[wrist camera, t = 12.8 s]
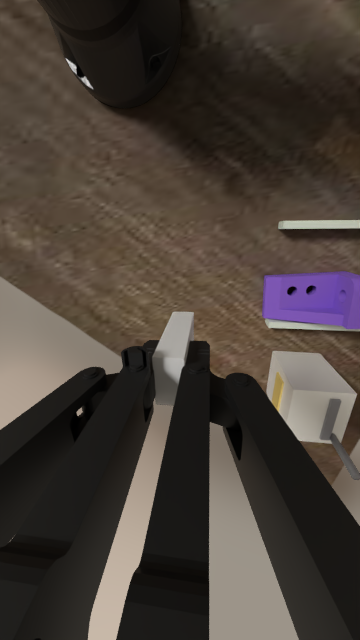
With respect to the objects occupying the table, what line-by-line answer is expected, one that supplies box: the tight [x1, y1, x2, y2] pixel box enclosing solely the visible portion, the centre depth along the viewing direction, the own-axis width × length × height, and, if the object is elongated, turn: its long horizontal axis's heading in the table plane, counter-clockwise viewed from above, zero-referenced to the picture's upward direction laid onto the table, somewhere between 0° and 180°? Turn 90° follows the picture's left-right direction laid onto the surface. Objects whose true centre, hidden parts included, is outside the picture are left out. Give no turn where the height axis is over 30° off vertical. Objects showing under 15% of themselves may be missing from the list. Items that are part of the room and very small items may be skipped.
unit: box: [266, 351, 360, 480], centre depth 34 cm, size 9×8×17 cm
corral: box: [265, 220, 360, 331], centre depth 34 cm, size 16×15×2 cm
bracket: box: [262, 271, 360, 329], centre depth 34 cm, size 12×7×7 cm, turn 94°
